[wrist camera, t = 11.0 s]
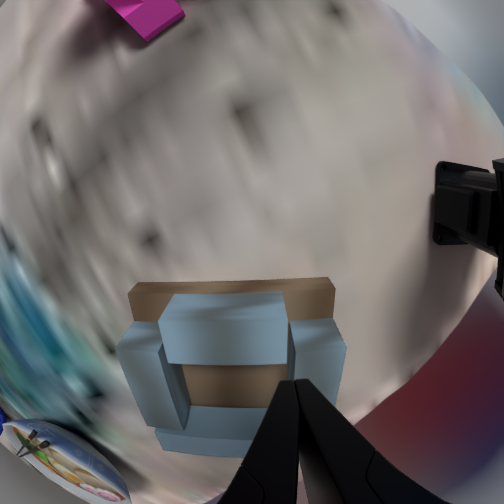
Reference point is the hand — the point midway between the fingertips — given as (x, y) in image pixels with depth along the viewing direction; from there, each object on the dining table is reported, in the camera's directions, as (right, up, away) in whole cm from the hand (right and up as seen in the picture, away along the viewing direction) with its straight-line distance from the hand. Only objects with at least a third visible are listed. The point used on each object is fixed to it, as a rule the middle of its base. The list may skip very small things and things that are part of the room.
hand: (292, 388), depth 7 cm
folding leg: (-2, -10, +13) cm, 17 cm away
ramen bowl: (-29, -26, +21) cm, 44 cm away
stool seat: (-3, -5, +14) cm, 15 cm away
